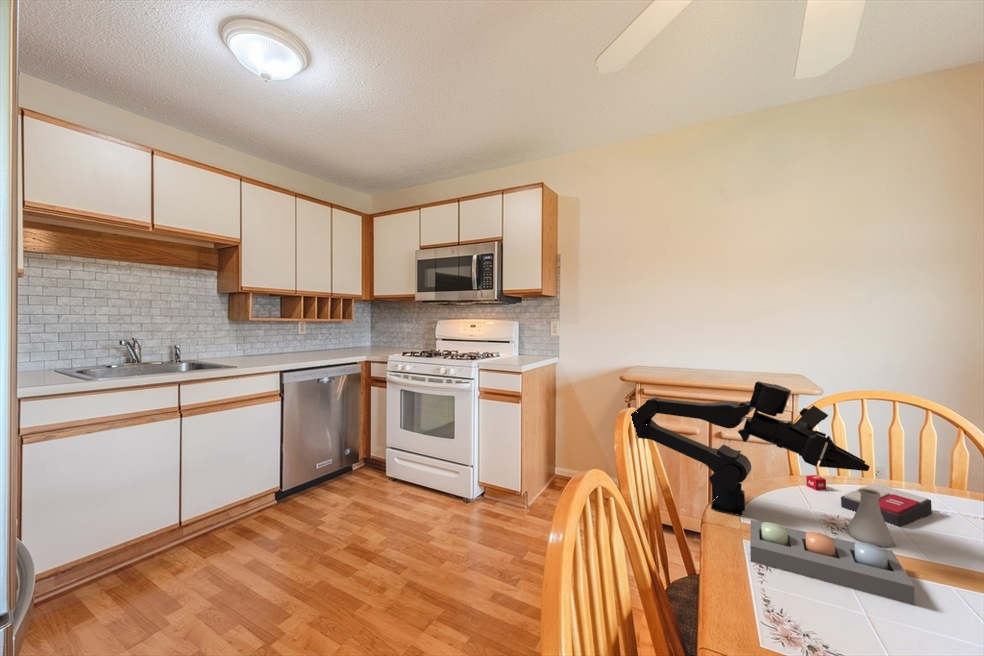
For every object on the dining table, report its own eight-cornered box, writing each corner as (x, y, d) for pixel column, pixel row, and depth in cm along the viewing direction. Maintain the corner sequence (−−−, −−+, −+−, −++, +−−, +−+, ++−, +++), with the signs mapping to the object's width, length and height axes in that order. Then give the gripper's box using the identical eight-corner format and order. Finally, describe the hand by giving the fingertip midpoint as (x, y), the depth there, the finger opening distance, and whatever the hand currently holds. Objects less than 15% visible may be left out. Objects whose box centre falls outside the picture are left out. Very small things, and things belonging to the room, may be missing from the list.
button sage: (762, 545, 77) (761, 529, 77) (761, 535, 80) (761, 520, 80) (788, 551, 74) (788, 535, 74) (787, 541, 78) (786, 525, 78)
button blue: (857, 568, 69) (857, 550, 69) (852, 557, 72) (852, 540, 72) (890, 576, 66) (890, 558, 66) (884, 564, 70) (883, 546, 70)
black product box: (839, 493, 96) (872, 480, 102) (840, 510, 96) (872, 496, 102) (899, 512, 86) (931, 496, 92) (900, 531, 86) (932, 514, 92)
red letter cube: (816, 490, 106) (816, 479, 106) (806, 486, 109) (806, 475, 109) (826, 490, 106) (826, 479, 106) (816, 485, 109) (816, 475, 109)
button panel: (750, 561, 75) (750, 545, 75) (750, 533, 84) (750, 519, 84) (914, 605, 62) (914, 586, 62) (892, 566, 72) (892, 550, 72)
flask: (905, 549, 78) (904, 500, 78) (863, 546, 79) (862, 497, 79) (877, 531, 85) (876, 485, 85) (838, 528, 86) (838, 483, 86)
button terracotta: (807, 556, 73) (806, 539, 73) (804, 545, 76) (804, 529, 76) (836, 563, 70) (836, 546, 70) (832, 552, 74) (832, 535, 74)
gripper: (786, 398, 82) (887, 431, 72) (790, 400, 96) (876, 427, 86) (767, 447, 83) (865, 486, 72) (775, 441, 97) (857, 474, 86)
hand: (866, 466), depth 79 cm, fingers open, 9 cm apart
